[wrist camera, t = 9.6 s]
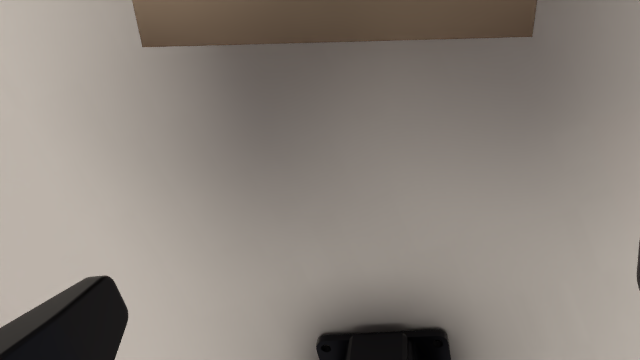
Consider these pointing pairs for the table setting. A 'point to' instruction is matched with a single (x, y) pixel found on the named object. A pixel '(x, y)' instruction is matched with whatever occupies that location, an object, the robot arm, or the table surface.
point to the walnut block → (327, 20)
